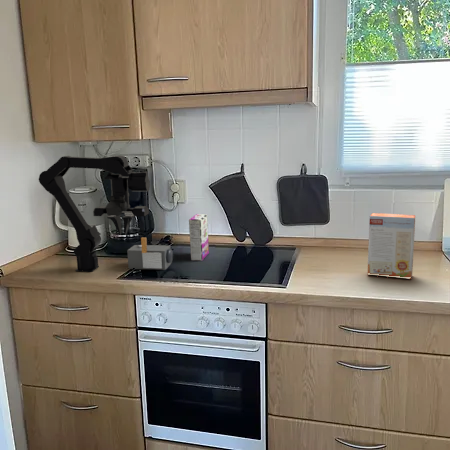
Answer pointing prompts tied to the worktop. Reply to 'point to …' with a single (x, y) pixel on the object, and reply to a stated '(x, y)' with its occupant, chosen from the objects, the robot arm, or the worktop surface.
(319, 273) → the worktop surface
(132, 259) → the grey box with panel
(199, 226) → the candy bar box
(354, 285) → the worktop surface
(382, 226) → the cracker box
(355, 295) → the worktop surface
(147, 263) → the side door
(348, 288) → the worktop surface
